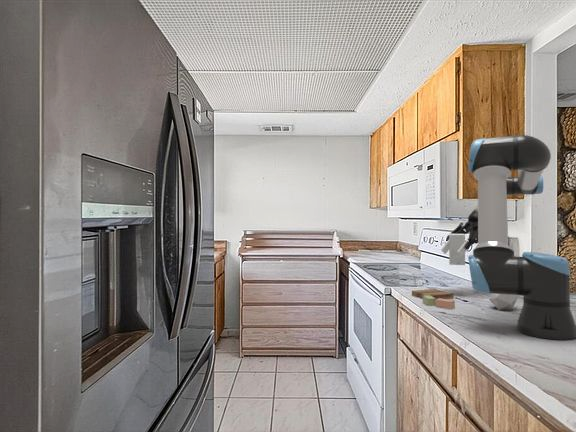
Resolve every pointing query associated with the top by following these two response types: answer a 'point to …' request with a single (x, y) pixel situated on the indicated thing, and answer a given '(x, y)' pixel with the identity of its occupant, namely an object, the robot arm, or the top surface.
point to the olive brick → (429, 300)
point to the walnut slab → (433, 294)
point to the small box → (456, 249)
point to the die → (503, 301)
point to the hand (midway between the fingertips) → (451, 252)
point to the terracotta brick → (445, 303)
